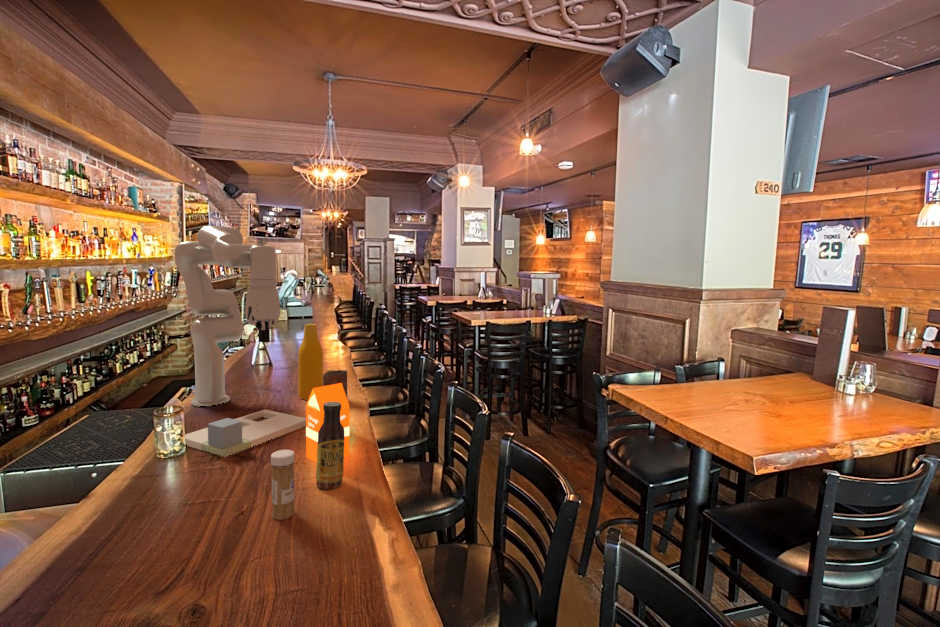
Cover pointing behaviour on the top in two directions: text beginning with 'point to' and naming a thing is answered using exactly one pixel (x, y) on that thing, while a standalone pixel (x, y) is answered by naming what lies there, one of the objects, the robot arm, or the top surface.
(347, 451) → the orange juice
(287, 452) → the sprinkles bottle
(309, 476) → the top surface
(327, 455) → the sauce bottle
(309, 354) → the beer bottle
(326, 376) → the brown piece
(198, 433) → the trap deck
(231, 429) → the block
